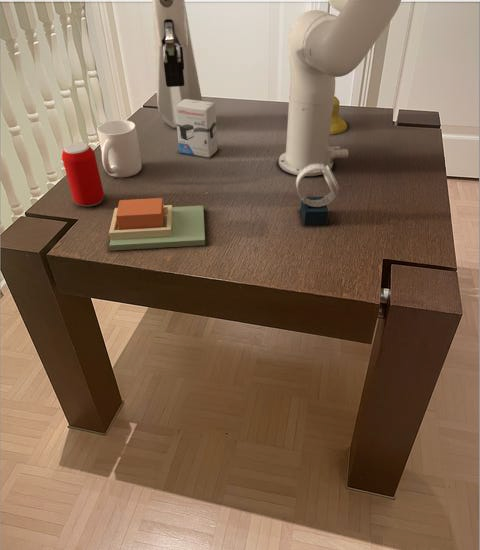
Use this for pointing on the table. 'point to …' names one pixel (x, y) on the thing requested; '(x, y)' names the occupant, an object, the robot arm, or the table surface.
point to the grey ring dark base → (316, 207)
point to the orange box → (140, 214)
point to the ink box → (196, 127)
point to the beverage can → (83, 174)
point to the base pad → (163, 231)
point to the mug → (119, 148)
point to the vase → (175, 95)
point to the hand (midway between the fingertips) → (175, 77)
